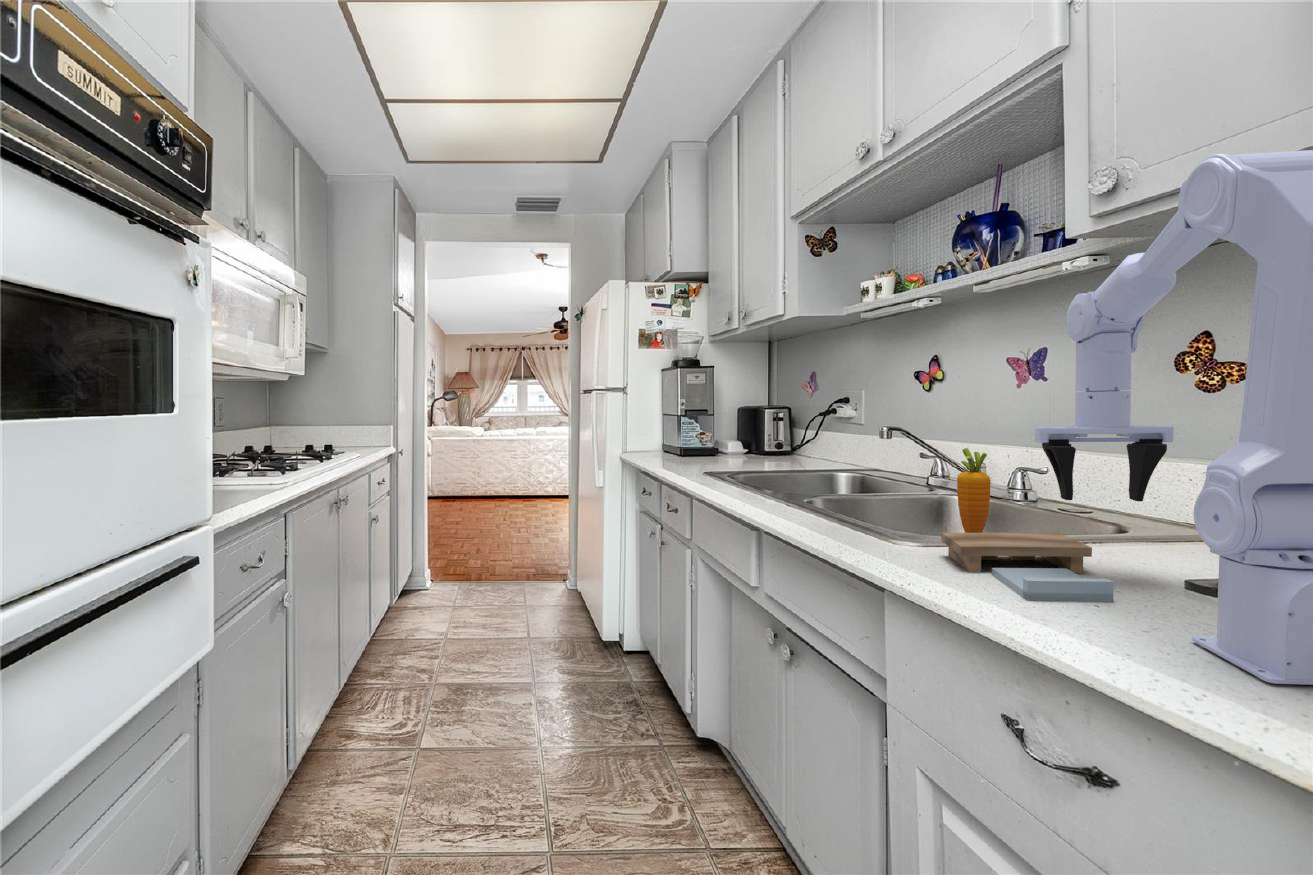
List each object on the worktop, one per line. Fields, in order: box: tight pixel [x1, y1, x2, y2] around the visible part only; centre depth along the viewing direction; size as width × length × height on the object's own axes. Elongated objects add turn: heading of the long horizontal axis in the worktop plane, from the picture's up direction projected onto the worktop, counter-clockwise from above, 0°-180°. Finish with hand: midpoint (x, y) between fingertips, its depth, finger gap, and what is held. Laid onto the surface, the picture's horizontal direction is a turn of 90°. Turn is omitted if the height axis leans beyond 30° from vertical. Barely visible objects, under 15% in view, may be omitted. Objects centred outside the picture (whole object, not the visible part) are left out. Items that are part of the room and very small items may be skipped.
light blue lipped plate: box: [991, 567, 1114, 603], centre depth 80 cm, size 11×9×3 cm
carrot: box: [956, 447, 991, 533], centre depth 103 cm, size 5×5×15 cm
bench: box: [940, 532, 1093, 574], centre depth 90 cm, size 9×16×3 cm, turn 82°
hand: (1100, 499), depth 83 cm, fingers open, 7 cm apart
